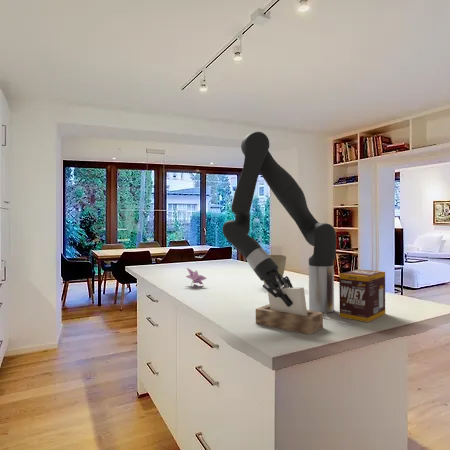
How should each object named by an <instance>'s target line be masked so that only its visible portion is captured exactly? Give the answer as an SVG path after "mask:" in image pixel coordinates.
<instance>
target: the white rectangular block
mask: <svg viewBox="0 0 450 450" xmlns="http://www.w3.org/2000/svg"><path fill="white" fill-rule="evenodd" d="M283 290H284V291H285V294H287V296H288V297H289V298H290V299H291V301H292V302H293V304H292V305H291V306H290V307H287V305H286V304H285V303H284V302H283V300H282V299H281V298H279V297H277V298H275V297H274V296H273V295H272V294H271V293H269V292H268V291H267V294H268V302H269V304H270V310H275V311H280V312H286V313H291V314H297V315H302V316H308V315H307V310H308V309H307V302H306V296H305V295H306V294H305V287H304V286H301V287H293V288H290V287H289V288H283Z"/></svg>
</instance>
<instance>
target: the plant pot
mask: <svg viewBox="0 0 450 450" xmlns="http://www.w3.org/2000/svg"><path fill="white" fill-rule="evenodd" d="M268 255H269V256H270V257H271V258H272V260H273V261H274V262H275V263H276V265H277V266H278V273H279V274H281V275H282V277H284V273H285V268H286V263H287V261H286V260H287V255H284V254H268ZM263 283H265V281H263Z"/></svg>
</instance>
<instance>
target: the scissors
mask: <svg viewBox="0 0 450 450" xmlns="http://www.w3.org/2000/svg"><path fill="white" fill-rule="evenodd" d="M323 320H327V321H330V322H333V323H335V324H337V325H339V326H341V327H344V328H346V326H344V325H343V324H347V325H350V323H348V322H346V321H345V322H344V321H341V320H337V319H333V318H331V317H329V316H328V313H323ZM341 323H343V324H341ZM351 325H353V326H354V324H353V323H351Z"/></svg>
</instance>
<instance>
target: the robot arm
mask: <svg viewBox="0 0 450 450" xmlns="http://www.w3.org/2000/svg"><path fill="white" fill-rule="evenodd" d="M240 147H241V148H240V149H241V152H242V154H243V155H244V161H243V166H242V170H241V174H240V176H239V179H238V181H237V184H236V188H235V190H234V194H233V199H232V203H231V207H230V208H231V212H232V213H233V214H234V220H227V221H225V222H224V223H223V225H222V234H223V235H224V238H225V239H226V240H227V241H228V242H229V243H230V244H231V245H232V246H233V247H234V248H235V249H236V250H238V251H239V252H240V253H241V256H243V257H244V259H245V260H246V261H247V263H248V265H249V267H250V268H251V269H252V271H253V272H254V273H255V274H256V276H257V277H258V279H259V280H260V281H262V282H263V283H264V281H265V283H264V284H263V285H262V288H263V289H264V290H265V291H267V293H268V292H269V293H271V294H272V295H273V296H274V297H275V298H277V297H279V298H281V299H282V300H283V302H284V303H285V304H286V305H287V307H290V306H291V305H292V304H293V302H292V301H291V299H290V298H289V297H288V296H287V294H285V291H284V290H283V288H294V287H293V284H292V282H291V280H290V278H289V277H288V275H286V276H285V277H284V276H283V277H282V275H281V274H279V273H278V266H277V265H276V263H275V262H274V261H273V260H272V258H271V257H270V256H269V255H270V254H269V253H267V251H265V250H264V248H263V247H262V246H261V245H260V244H259V242H258V241H257V240H256V238H254V237H251V236H249V233H250V227H251V213H250V211H251V210H252V209H251V208H252V204H253V200H254V195H255V191H256V187H257V182H258V179H259V175H260V174H261V176H262V178H263V179H264V181H265V183H266V184H267V186H268V187H269V189H270V190H271V192H272V193H273V195H274V196H275V197H276V199H277V200H278V202H279V203H280V204H281V205H282V207H283V208H284V209H285V211H286V212H287V213H288V215H289V216H290V217H291V219H292V220H293V221H294V222H295V224H296V226H297V228H298V229H299V231H300V232H301V234H302V236H303V238H304V239H305V242H306V243H308V245H310V246H312V247H313V254H312V255H311V256H310V257H309V258H308V310H310V311H316V312H322V313H323V314H325V313H327V314H328V313H333V312H334V311H335V277H334V276H335V273H334V272H335V269H334V267H335V266H334V263H335V262H334V261H335V259H336V256H337V232H336V230H335V228H334V226H333V225H332V224H329V223H326V222H325V223H324V222H322V223H321V222H319V221H318V220H317V219H316V218H315V217H314V216H313V214H312V213H311V211H310V210H309V206H308V203H307V199H306V197H305V196H306V195H305V194H304V191H303V189H302V188H301V187H300V185H299V184H298V181H296V180H295V178H294V177H293V176H292V175H291V174H290V173H289V172H288V171H287V170H286V169H285V168H283V167H282V166H281V165H280V164H279V162H277V161H276V160H275V158H274V157H273V156H272V154H271V153H270V151H269V149H270V139H269V137H268V136H267V135H266V134H265V133H264V132H262V131H253V132H250V133H249V134H247V135H246V136H245V137H243V139H242V140H241V145H240Z"/></svg>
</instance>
